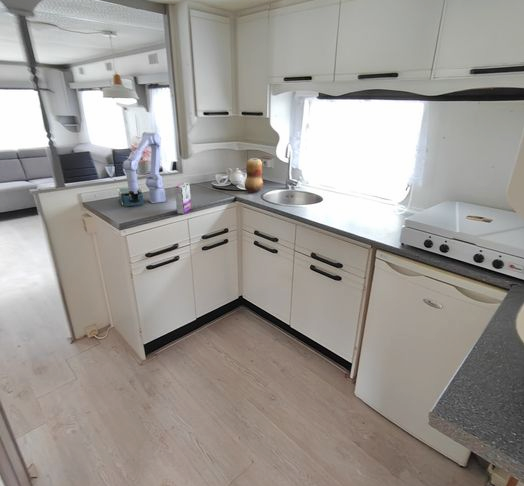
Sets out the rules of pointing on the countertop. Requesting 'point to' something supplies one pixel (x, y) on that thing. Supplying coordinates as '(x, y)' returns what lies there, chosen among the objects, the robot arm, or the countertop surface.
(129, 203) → the drawer
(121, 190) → the cabinet
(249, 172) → the butternut squash
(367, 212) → the countertop surface
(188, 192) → the candy bar box
